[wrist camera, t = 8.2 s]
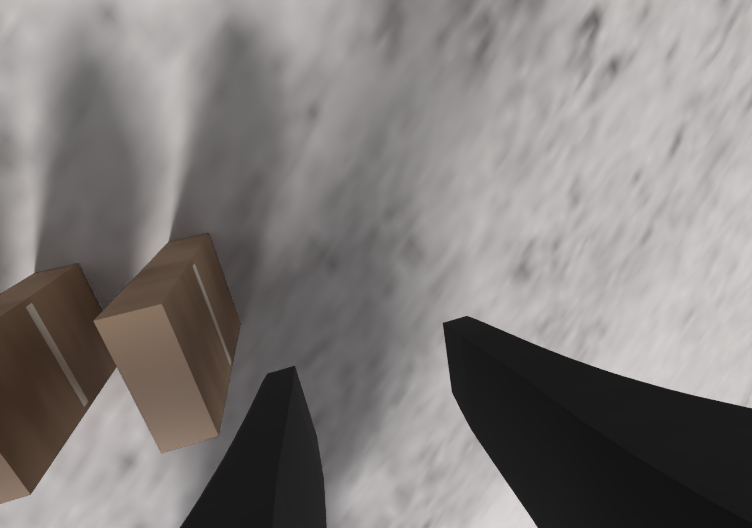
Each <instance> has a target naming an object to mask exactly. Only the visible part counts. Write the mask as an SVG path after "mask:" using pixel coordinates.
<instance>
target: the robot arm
mask: <svg viewBox="0 0 752 528" xmlns="http://www.w3.org/2000/svg"><path fill="white" fill-rule="evenodd" d="M443 328H444V335H445V343H446V350H447V358H448V366H449V373H450V381H451V388H452V393H453V395H454V397H455V399H456V401H457V403H458V405H459V407H460V409H461V411H462V413H463V415H464V417H465V419H466V421H467V422H468V424H469V426H470V428H471V430H472V431H473V433H474V434H475V436H476V437H477V439H478V440H479V442H480V443H481V445H482V446H483V448H484V449H485V451H486V452H487V454H488V455H489V457H490V458H491V460H492V461H493V463H494V464H495V465H496V467H497V468H498V470H499V471H500V473H501V474H502V476H503V477H504V479H505V480H506V482H507V483H508V484H509V486H510V487H511V489H512V490H513V492H514V493H515V495H516V496H517V498H518V499H519V500H520V502H521V503H522V505H523V506H524V508H525V509H526V511H527V512H528V514H529V515H530V516H531V518H532V519H533V521H534V523H535V524H536V526H537V527H538V528H752V408H747V407H743V406H738V405H734V404H729V403H725V402H720V401H716V400H711V399H707V398H702V397H698V396H694V395H690V394H686V393H682V392H678V391H674V390H670V389H666V388H662V387H659V386H655V385H652V384H648V383H645V382H641V381H638V380H634V379H631V378H627V377H624V376H621V375H618V374H614V373H611V372H608V371H605V370H602V369H599V368H596V367H593V366H591V365H588V364H585V363H582V362H579V361H577V360H574V359H571V358H568V357H566V356H563V355H560V354H558V353H555V352H552V351H550V350H547V349H545V348H542V347H540V346H538V345H535V344H533V343H530V342H528V341H526V340H523V339H521V338H518V337H516V336H514V335H511V334H509V333H507V332H505V331H502V330H500V329H498V328H495V327H493V326H491V325H488V324H486V323H484V322H481V321H479V320H476V319H474V318H471V317H468V316H465V317H462V318H458V319H455V320H451V321H448V322H444V323H443ZM180 528H327V527H326V509H325V491H324V478H323V472H322V465H321V459H320V453H319V447H318V441H317V435H316V432H315V429H314V426H313V422H312V419H311V416H310V413H309V410H308V406H307V403H306V400H305V397H304V393H303V390H302V387H301V384H300V381H299V377H298V374H297V371H296V368H295V366H292V367H289V368H286V369H282V370H279V371H275V372H272V373H268V374H267V375H266V377H265V378H264V380H263V382H262V384H261V386H260V388H259V391H258V393H257V395H256V397H255V399H254V401H253V403H252V405H251V407H250V409H249V411H248V413H247V415H246V417H245V419H244V421H243V423H242V425H241V427H240V429H239V431H238V432H237V434H236V436H235V438H234V440H233V442H232V444H231V445H230V447H229V449H228V451H227V453H226V455H225V456H224V458H223V460H222V462H221V463H220V465H219V466H218V468H217V470H216V471H215V473H214V475H213V476H212V478H211V480H210V481H209V483H208V485H207V486H206V488H205V490H204V491H203V493H202V495H201V496H200V498H199V500H198V501H197V503H196V504H195V506H194V507H193V509H192V510H191V512H190V513H189V515H188V517H187V518H186V520H185V521H184V523H183V524H182V526H181V527H180Z"/></svg>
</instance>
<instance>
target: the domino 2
mask: <svg viewBox="0 0 752 528" xmlns="http://www.w3.org/2000/svg"><path fill="white" fill-rule="evenodd" d="M94 323H95V325H96V327H97V329H98V331H99V333H100V335H101V337H102V339H103V341H104V343H105V345H106V347H107V349H108V351H109V353H110V354H111V356H112V358H113V360H114V362H115V364H116V366H117V368H118V370H119V372H120V374H121V376H122V378H123V380H124V382H125V384H126V386H127V388H128V390H129V391H130V393H131V395H132V397H133V399H134V401H135V403H136V405H137V407H138V409H139V411H140V413H141V415H142V417H143V419H144V421H145V423H146V425H147V427H148V428H149V430H150V432H151V434H152V436H153V438H154V440H155V442H156V444H157V446H158V448H159V450H160V452H161V454H162V453H165V452H168V451H171V450H175V449H178V448H181V447H185V446H188V445H191V444H195V443H198V442H201V441H204V440H208V439H211V438H214V437H218V436H219V432H220V427H221V421H222V416H223V411H224V406H225V401H226V396H227V391H228V386H229V381H230V376H231V371H232V365H233V360H234V355H235V350H236V345H237V340H238V335H239V330H240V325H241V323H240V320H239V318H238V315H237V312H236V309H235V306H234V303H233V300H232V298H231V295H230V292H229V289H228V286H227V283H226V281H225V278H224V275H223V272H222V269H221V266H220V264H219V261H218V258H217V255H216V252H215V249H214V246H213V244H212V241H211V238H210V235H209V233H206V234H202V235H197V236H193V237H188V238H184V239H179V240H175V241H170V242H168V243H167V244H166V245H165V246H164V247H163V248H162V249H161V250H160V251H159V253H158V254H157V255H156V256H155V257H154V258H153V259H152V260H151V261H150V262H149V263H148V264H147V265H146V266H145V267H144V268H143V269H142V270H141V271H140V272H139V273H138V275H137V276H136V277H135V278H134V279H133V280H132V281H131V282H130V283H129V284H128V285H127V286H126V287H125V288H124V289H123V290H122V291H121V292H120V293H119V294H118V296H117V297H116V298H115V299H114V300H113V301H112V302H111V303H110V304H109V305H108V306H107V307H106V308H105V309H104V310H103V311H102V312H101V313H100V314H99V315H98V316H97V318H96V319H95V320H94Z"/></svg>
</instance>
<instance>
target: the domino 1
mask: <svg viewBox="0 0 752 528" xmlns="http://www.w3.org/2000/svg"><path fill="white" fill-rule="evenodd" d="M101 312H102V309H101V307H100V305H99V303H98V301H97V299H96V297H95V296H94V294H93V292H92V290H91V288H90V286H89V284H88V282H87V280H86V278H85V276H84V274H83V272H82V270H81V268H80V266H79V264H78V263H77V264H73V265H68V266H64V267H60V268H55V269H51V270H47V271H42V272H38V273H34V274H32V275H31V276H29V277H27V278H26V279H24V280H22V281H21V282H19V283H17V284H16V285H14V286H12V287H11V288H9V289H7V290H6V291H4V292H2V293H1V294H0V504H2V503H5V502H8V501H12V500H15V499H18V498H21V497H25V496H28V495H31V493H32V492H33V490H34V489H35V487H36V486H37V484H38V483H39V481H40V480H41V478H42V477H43V475H44V474H45V472H46V471H47V470H48V468H49V467H50V465H51V464H52V462H53V461H54V459H55V458H56V456H57V455H58V453H59V452H60V450H61V449H62V447H63V446H64V444H65V443H66V441H67V440H68V438H69V437H70V435H71V434H72V432H73V431H74V429H75V428H76V426H77V425H78V423H79V422H80V421H81V419H82V418H83V416H84V415H85V413H86V412H87V410H88V409H89V407H90V406H91V404H92V403H93V401H94V400H95V398H96V397H97V395H98V394H99V392H100V391H101V389H102V388H103V386H104V385H105V383H106V382H107V380H108V379H109V377H110V376H111V374H112V373H113V371H114V370H115V369H116V367H117V366H116V364H115V362H114V360H113V358H112V356H111V354H110V353H109V351H108V349H107V347H106V345H105V343H104V341H103V339H102V337H101V335H100V333H99V331H98V329H97V327H96V325H95V323H94V320H95V319H96V318H97V316H98V315H99V314H100V313H101Z"/></svg>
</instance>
